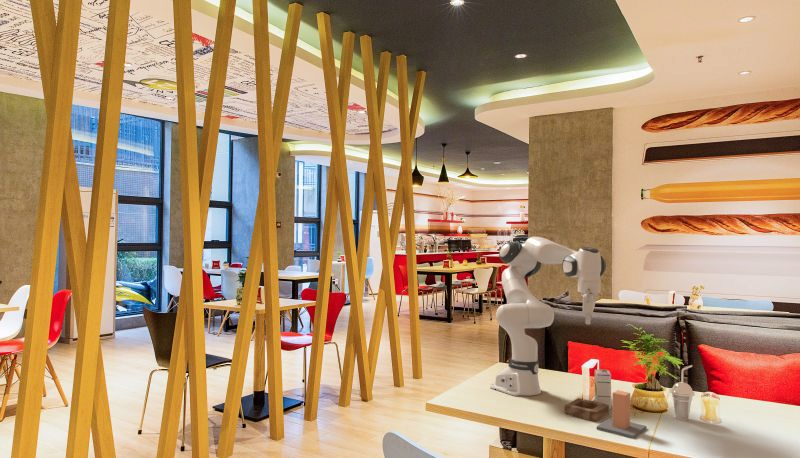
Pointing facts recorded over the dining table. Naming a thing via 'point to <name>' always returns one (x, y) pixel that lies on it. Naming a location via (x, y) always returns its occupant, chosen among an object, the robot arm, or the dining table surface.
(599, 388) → the syrup box
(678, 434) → the dining table surface
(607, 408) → the socket holder
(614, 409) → the terracotta peg
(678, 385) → the cup with straw
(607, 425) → the slate mat
